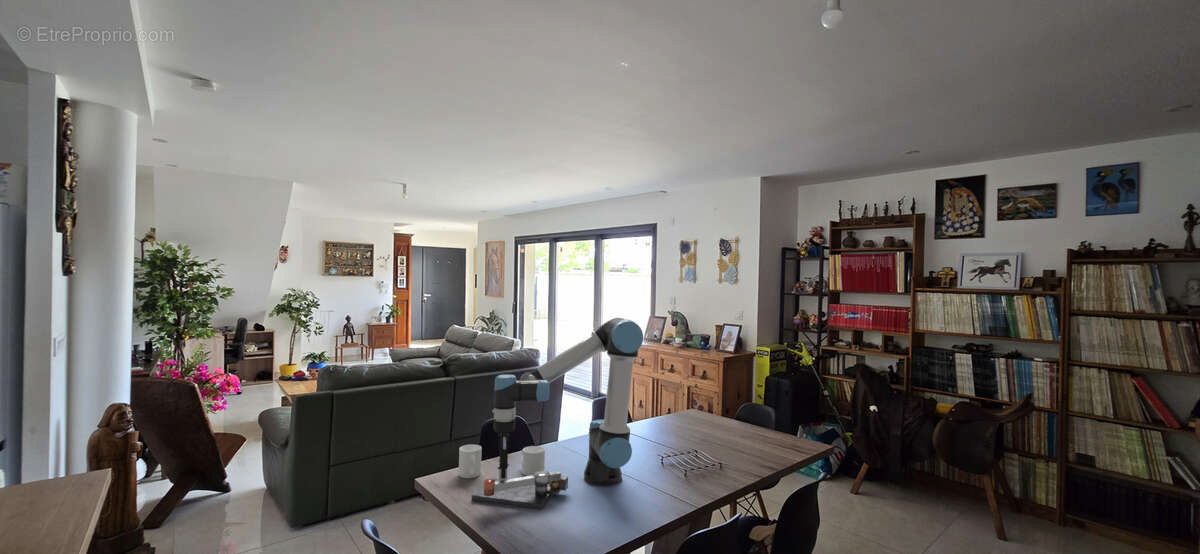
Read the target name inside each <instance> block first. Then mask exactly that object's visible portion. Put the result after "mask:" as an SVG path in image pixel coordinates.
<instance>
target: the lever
mask: <svg viewBox="0 0 1200 554" xmlns="http://www.w3.org/2000/svg"><path fill="white" fill-rule="evenodd" d="M561 476H562V473H561V472H560V471H559V470H553V471H546V470H544V471H537V472H535V473H533V475H530V476H526V475H524V476H520V477H515V478H507V480H502V481H496V482H495V480H494V479H491V478H486V479H484V481H483V485H484V495H485V496H492V495H494V494H495V492H496V491H501V490H507V489H512V488H518V487H523V486H529V485H537V486H545V485H549V483H550V482H552V481H557V480H561Z"/></svg>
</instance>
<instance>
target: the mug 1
mask: <svg viewBox="0 0 1200 554" xmlns="http://www.w3.org/2000/svg"><path fill="white" fill-rule="evenodd" d="M458 450H459V451H458V453H459V456H458V476H459V477H460V478H462V479H474V478H478V477H479V476H480V475H481V473H482V472H481V471H482V450H483V449H482V446H481V445H478V444H465V445H462V446H460V447H459V449H458Z"/></svg>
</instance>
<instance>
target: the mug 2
mask: <svg viewBox="0 0 1200 554" xmlns="http://www.w3.org/2000/svg"><path fill="white" fill-rule="evenodd" d="M545 455H546V448H545V447H542V446H540V445H529V446H525V447H523V448H522V450H521V452H520V457H519V458H520V464H521V468H522V470H521V473H522V474H523V475H524V476H530V475H533V473H535V472H537V471H545V466H546V465H545V464H546V463H545V459H546V458H545V457H546V456H545Z"/></svg>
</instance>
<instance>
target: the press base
mask: <svg viewBox="0 0 1200 554" xmlns="http://www.w3.org/2000/svg"><path fill="white" fill-rule="evenodd" d="M490 479H494V480H495V482H496V481H499V478H495V477H492V478H490ZM568 483H569V476H565V475H561V480H557V481H552V482H550V483H549V484H548V485H545V486H537V485H529V486H523V487H518V488H512V489H507V490H501V491H496V492H495V494H494V495H492V496H485V495H484V484H483V485H482V486H481V487H479V488H478V489H476V491H475V492H474V493H472V494H471V501H472V502H477V503H478V502H479V503H485V504H494V505H500V506H501V505H502V506H505V507H506V506H507V507H515V508H522V509H528V510H529V509H531V510H536V511H542V510H543V509H544V507H545V506H546V505H547V503H549V501H550V500H551V499H552V497H553V496H554V495H555V494H556V495H559V494H560V492H561V491H565V492H566V490H567V489H568V488H569V487H568V485H569V484H568Z"/></svg>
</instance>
